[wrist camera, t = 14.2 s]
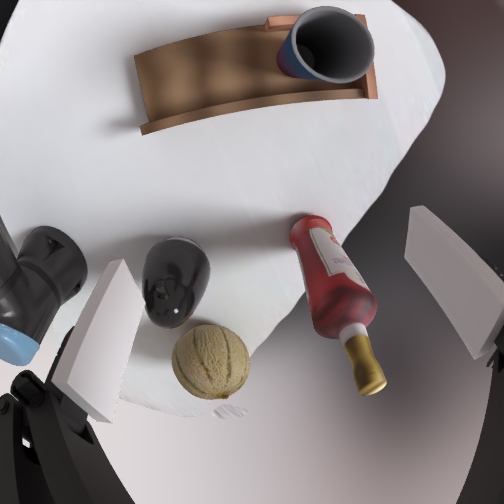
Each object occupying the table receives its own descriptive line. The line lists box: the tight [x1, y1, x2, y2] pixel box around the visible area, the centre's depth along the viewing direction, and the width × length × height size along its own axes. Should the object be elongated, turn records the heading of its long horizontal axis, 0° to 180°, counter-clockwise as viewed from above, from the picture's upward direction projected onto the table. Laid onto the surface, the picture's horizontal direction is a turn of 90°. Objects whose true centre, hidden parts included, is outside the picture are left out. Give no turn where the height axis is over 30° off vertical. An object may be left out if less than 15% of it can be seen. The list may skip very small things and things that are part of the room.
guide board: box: [134, 14, 378, 136], centre depth 28 cm, size 28×11×7 cm, turn 100°
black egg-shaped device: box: [142, 237, 210, 329], centre depth 39 cm, size 10×10×15 cm
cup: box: [277, 6, 374, 83], centre depth 22 cm, size 7×7×15 cm
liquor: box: [290, 215, 386, 396], centre depth 33 cm, size 7×7×28 cm
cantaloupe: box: [172, 325, 250, 400], centre depth 50 cm, size 15×15×15 cm
